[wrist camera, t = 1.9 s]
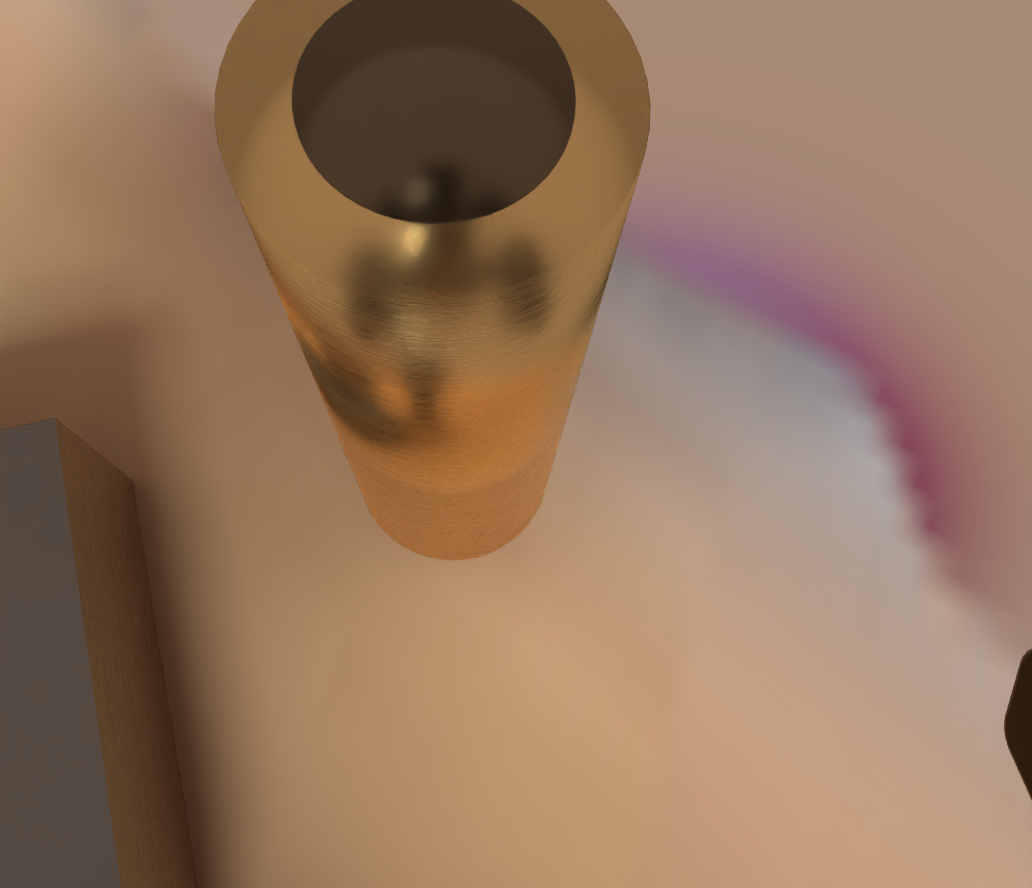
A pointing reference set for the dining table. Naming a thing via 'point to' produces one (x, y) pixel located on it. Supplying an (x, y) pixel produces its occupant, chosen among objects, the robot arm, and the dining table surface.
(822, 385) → the dining table surface
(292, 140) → the bushing
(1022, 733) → the robot arm
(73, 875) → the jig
